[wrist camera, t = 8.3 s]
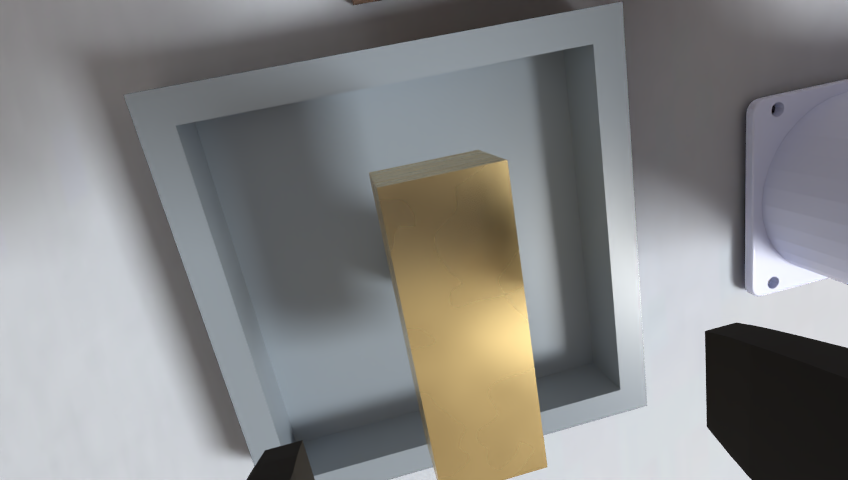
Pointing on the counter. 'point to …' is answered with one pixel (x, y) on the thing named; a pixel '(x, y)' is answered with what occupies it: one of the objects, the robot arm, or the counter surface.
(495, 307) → the t key
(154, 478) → the counter surface
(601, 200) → the tray
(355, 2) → the slot block
